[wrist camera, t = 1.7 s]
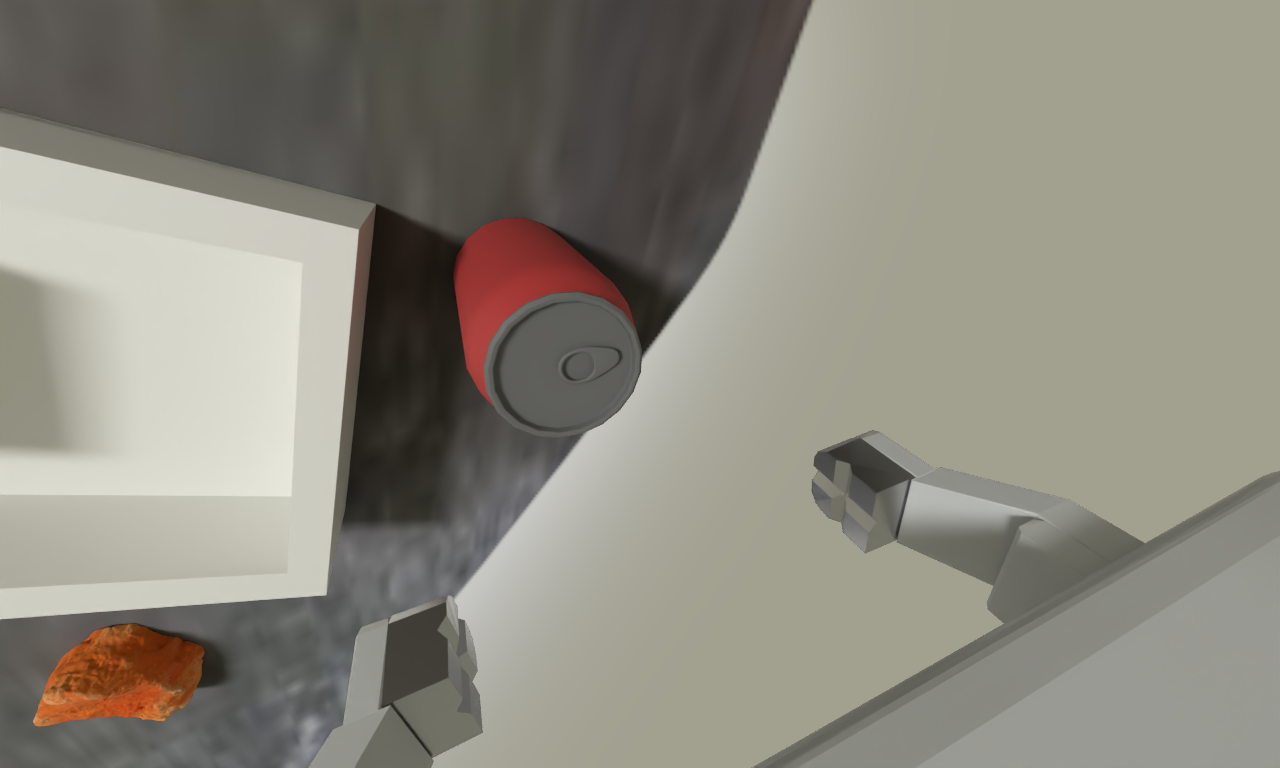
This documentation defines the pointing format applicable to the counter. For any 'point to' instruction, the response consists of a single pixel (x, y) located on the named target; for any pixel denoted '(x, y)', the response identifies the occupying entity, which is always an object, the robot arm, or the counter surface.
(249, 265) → the tray
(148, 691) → the rock
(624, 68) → the counter surface
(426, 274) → the counter surface
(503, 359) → the beer can
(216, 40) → the counter surface
